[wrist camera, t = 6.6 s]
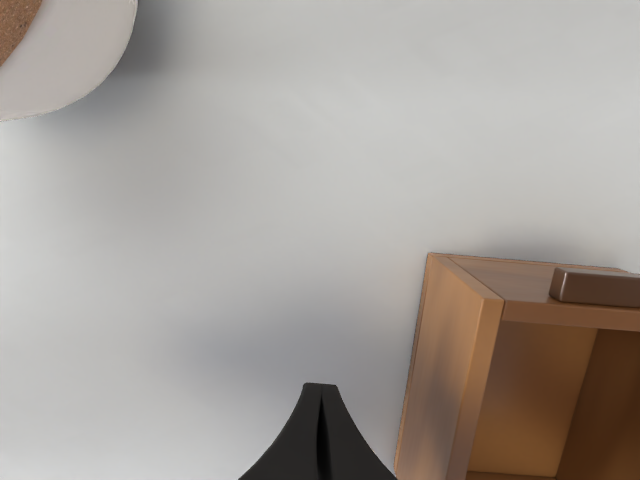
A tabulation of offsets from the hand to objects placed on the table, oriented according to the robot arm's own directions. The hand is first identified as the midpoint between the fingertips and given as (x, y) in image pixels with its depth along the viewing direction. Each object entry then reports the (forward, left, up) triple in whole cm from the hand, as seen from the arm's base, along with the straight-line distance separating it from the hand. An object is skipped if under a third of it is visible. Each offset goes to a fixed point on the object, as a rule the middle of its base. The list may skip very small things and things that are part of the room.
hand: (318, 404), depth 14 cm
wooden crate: (0, -9, -3) cm, 10 cm away
